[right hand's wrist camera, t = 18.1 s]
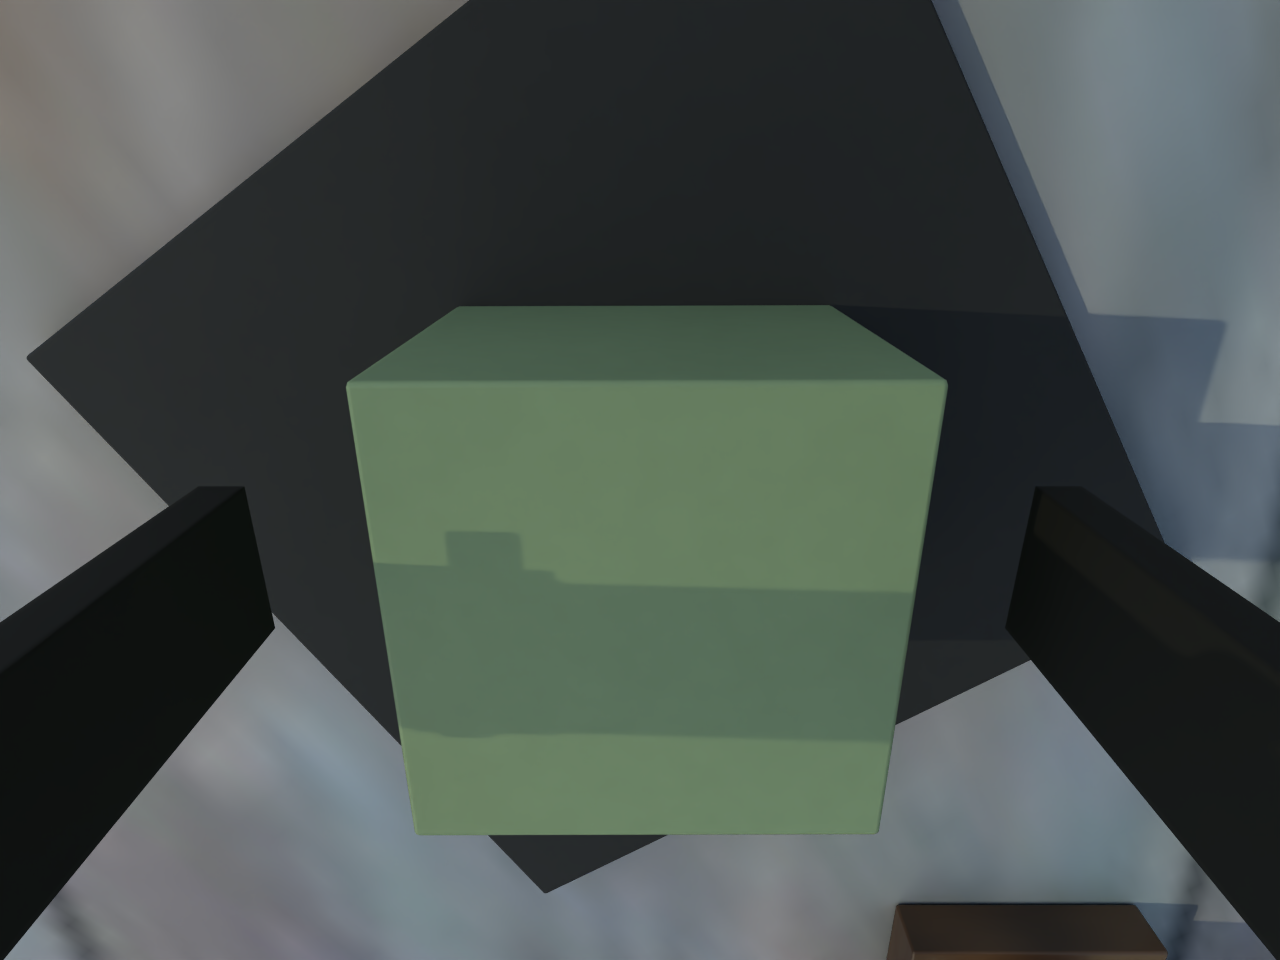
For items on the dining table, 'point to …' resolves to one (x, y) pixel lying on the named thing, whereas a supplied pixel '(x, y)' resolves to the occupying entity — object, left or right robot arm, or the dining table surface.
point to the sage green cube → (646, 564)
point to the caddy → (1022, 933)
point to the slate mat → (607, 286)
